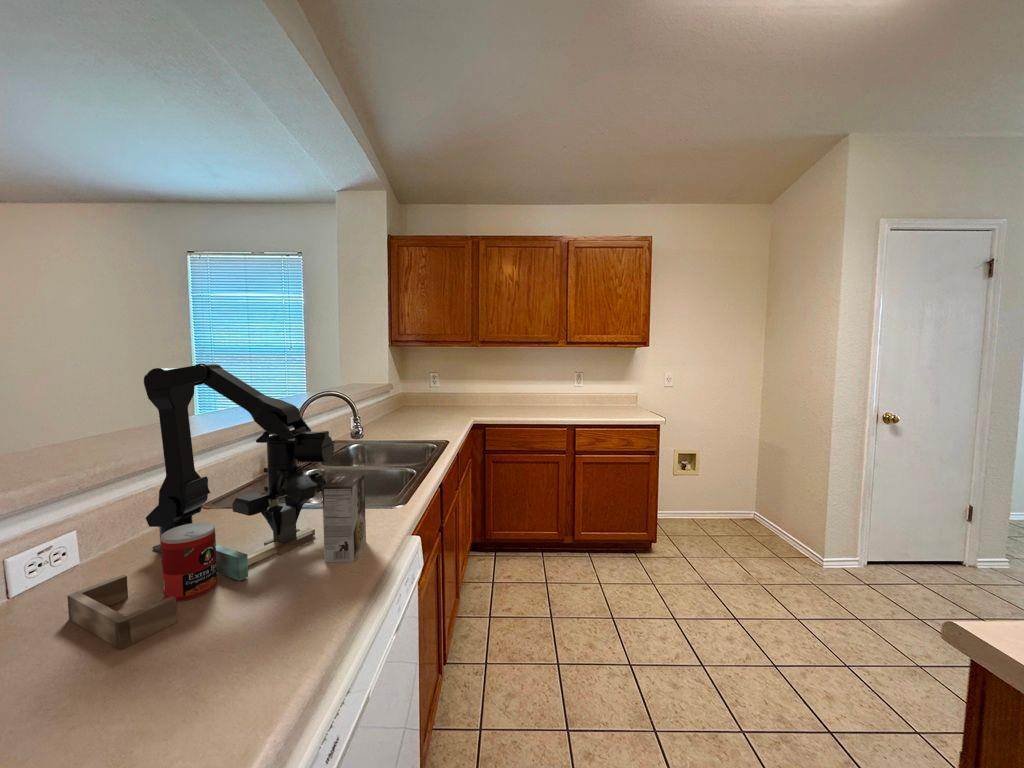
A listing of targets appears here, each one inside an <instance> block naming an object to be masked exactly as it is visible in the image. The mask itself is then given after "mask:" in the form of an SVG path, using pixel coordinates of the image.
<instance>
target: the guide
mask: <svg viewBox="0 0 1024 768" xmlns="http://www.w3.org/2000/svg"><path fill="white" fill-rule="evenodd" d="M298 531H301V529H300V528H296V532H298ZM313 541H314V536H313V533H312V532H309V533H307V534H304V535H302V536H300V537H297V538H295V539H293V540H291V541H288V542H286V543H284V544H282V545H279V546H278V552H277V555H279V556H284V555H286V554H287V553H289V552H291V551H293V550H296V549H297V548H300V547H302V546H304V545H306V544H309V543H311V542H313ZM272 542H275V541H274V539H273V538H272V539H268V540H266V541H264V543H263V546H265V545H268V544H270V543H272Z"/></svg>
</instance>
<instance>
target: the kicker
mask: <svg viewBox="0 0 1024 768" xmlns="http://www.w3.org/2000/svg"><path fill="white" fill-rule="evenodd" d="M282 506H283V508H282V510H281V511H280V534H279V535H275V534H274V532H273V531H272V533H273V534H272V536H273V538H272V539H274V541H275V542H272V543H270V544H268V545H265V546H264V545H263V546H261V547H259V548H257V549H254V550H252V551H249V552H247V553H244V552H242V551H238V550H235V549H232V548H229V547H226V546H224V545H223V546H222V545H219V544H217V543H216V562H217V574H219V575H223V576H226V577H228V578H231V579H233V580H237V581H239V582H240V581H242V580H244V579H246V578H249V566H251V565H252V564H254V563H257V562H259V561H261V560H263V559H265V558H268V557H270V556H272V555H274V554H278V546H279V545H282V544H284V543H286V542H288V541H291V540H293V539H295V538H297V537H300V536H302V535H304V534H307V533H309V532H312V533H313V537H314V536H315V535H316V529H315V528H312V527H305V528H303V529H300V531H298V532H296V529H297V523H296V507H291V506H287V505H286V504H285V505H282Z"/></svg>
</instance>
